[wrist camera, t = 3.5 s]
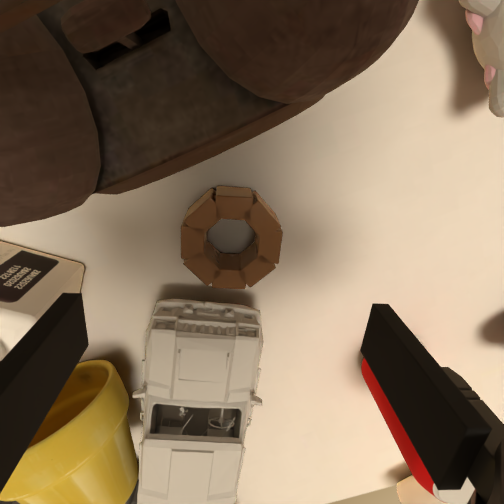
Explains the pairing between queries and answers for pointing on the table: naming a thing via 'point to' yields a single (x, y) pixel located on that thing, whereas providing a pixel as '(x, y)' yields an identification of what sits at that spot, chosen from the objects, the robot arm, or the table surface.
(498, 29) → the toy
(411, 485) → the mug
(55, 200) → the alarm clock
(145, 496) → the toy car
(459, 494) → the beverage can
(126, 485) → the flower pot
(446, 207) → the table surface
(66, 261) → the container
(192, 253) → the ring
